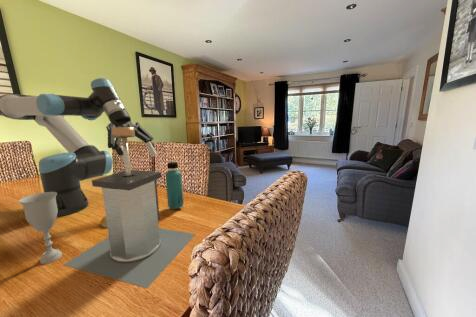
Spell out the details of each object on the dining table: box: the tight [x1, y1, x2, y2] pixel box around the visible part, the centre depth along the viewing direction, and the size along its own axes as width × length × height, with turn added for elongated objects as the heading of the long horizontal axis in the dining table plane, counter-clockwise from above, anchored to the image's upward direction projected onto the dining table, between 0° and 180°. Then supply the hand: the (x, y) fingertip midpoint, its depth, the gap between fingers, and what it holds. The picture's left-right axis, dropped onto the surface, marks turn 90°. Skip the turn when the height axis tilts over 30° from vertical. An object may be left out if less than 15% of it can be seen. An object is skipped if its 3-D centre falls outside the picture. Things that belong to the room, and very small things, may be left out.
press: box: [91, 169, 162, 263], centre depth 58 cm, size 13×16×22 cm
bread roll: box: [100, 215, 108, 228], centre depth 74 cm, size 8×9×4 cm
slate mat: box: [63, 227, 197, 289], centre depth 58 cm, size 26×22×1 cm
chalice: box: [18, 191, 63, 265], centre depth 53 cm, size 7×7×18 cm
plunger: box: [112, 127, 136, 178], centre depth 54 cm, size 9×9×23 cm
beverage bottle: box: [164, 161, 185, 209], centre depth 83 cm, size 6×7×20 cm
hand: (142, 158), depth 83 cm, fingers open, 13 cm apart
